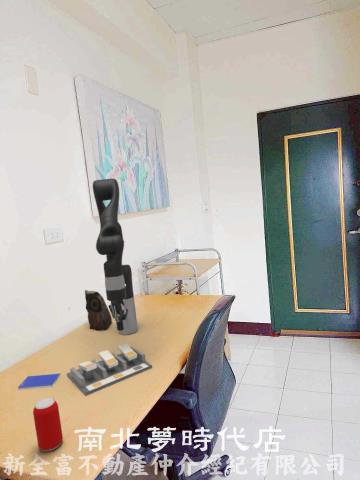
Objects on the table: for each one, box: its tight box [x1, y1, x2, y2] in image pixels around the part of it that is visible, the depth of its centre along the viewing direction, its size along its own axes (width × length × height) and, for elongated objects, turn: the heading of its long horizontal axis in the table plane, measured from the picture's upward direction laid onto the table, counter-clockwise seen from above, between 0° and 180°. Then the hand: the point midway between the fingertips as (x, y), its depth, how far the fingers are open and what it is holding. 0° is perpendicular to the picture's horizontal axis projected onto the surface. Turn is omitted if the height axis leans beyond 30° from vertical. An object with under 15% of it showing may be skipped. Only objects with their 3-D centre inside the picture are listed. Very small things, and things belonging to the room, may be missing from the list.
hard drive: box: [17, 373, 61, 391], centre depth 127 cm, size 2×8×12 cm
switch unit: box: [66, 346, 153, 396], centre depth 129 cm, size 19×26×4 cm
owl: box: [84, 289, 113, 332], centre depth 180 cm, size 13×13×20 cm
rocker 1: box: [77, 360, 97, 371], centre depth 124 cm, size 9×4×2 cm, turn 36°
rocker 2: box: [117, 342, 137, 360], centre depth 133 cm, size 9×4×2 cm, turn 36°
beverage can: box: [32, 397, 64, 452], centre depth 91 cm, size 6×6×12 cm
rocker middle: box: [98, 349, 118, 368], centre depth 129 cm, size 9×4×2 cm, turn 36°
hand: (120, 330), depth 135 cm, fingers closed
